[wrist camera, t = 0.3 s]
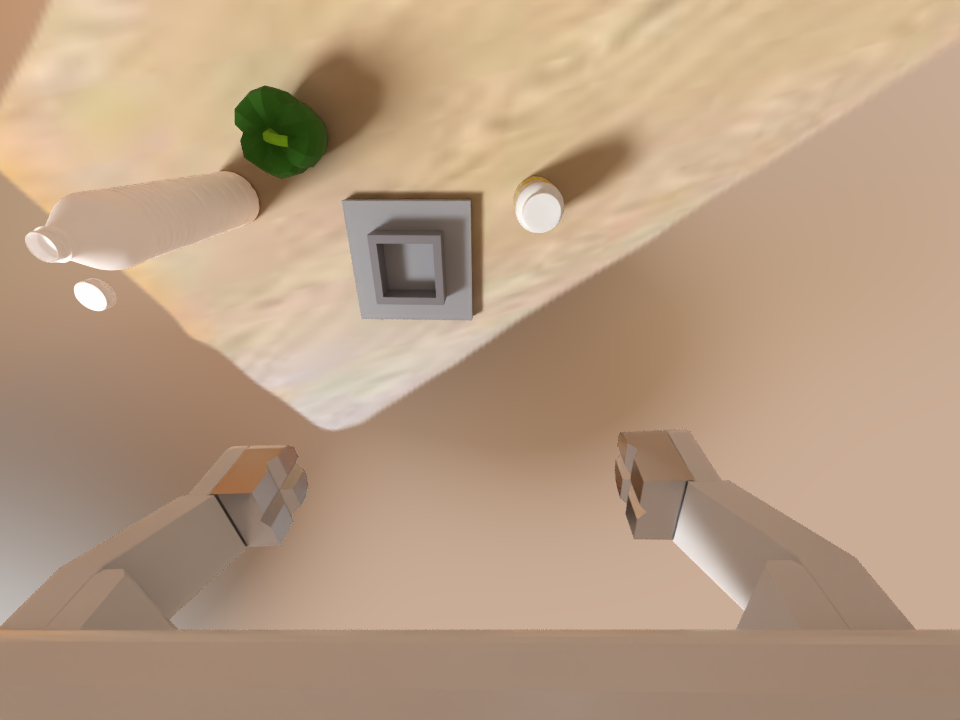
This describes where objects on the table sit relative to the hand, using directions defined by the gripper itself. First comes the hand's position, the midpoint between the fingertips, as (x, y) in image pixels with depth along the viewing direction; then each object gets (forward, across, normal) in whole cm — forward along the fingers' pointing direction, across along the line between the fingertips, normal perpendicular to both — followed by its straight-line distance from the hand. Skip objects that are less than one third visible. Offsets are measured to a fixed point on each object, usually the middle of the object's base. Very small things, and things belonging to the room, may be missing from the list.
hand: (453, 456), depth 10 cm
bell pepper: (+46, +22, -8) cm, 51 cm away
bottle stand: (+46, +11, +7) cm, 48 cm away
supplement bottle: (+46, -6, +1) cm, 46 cm away
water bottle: (+46, +32, -1) cm, 56 cm away
